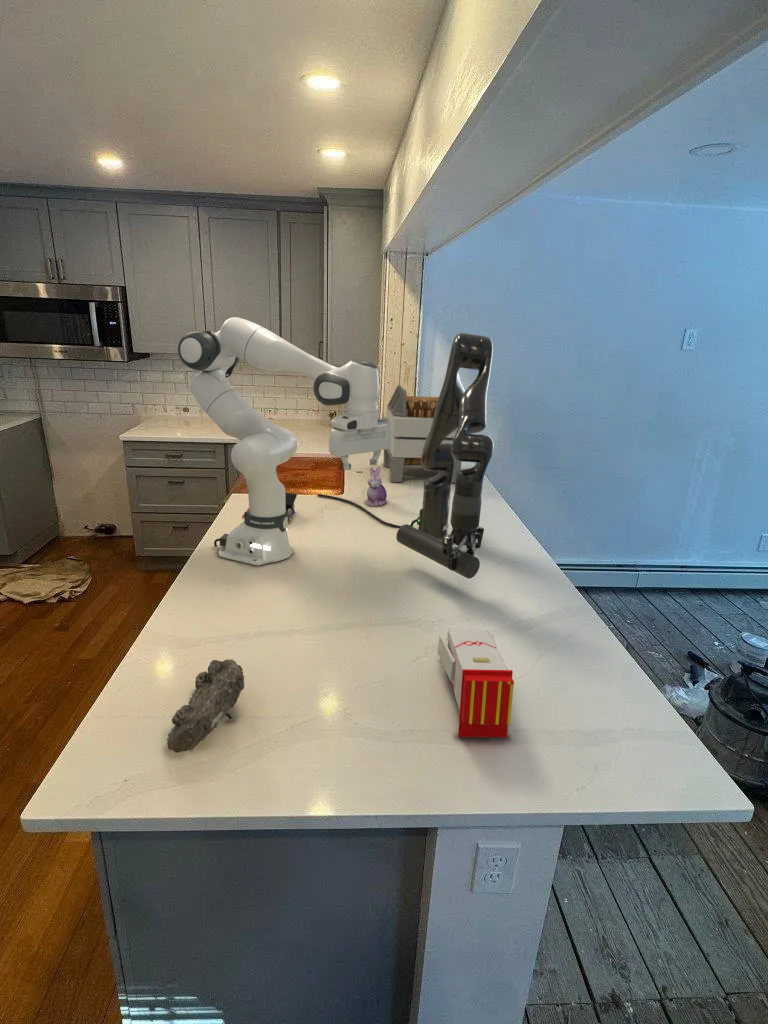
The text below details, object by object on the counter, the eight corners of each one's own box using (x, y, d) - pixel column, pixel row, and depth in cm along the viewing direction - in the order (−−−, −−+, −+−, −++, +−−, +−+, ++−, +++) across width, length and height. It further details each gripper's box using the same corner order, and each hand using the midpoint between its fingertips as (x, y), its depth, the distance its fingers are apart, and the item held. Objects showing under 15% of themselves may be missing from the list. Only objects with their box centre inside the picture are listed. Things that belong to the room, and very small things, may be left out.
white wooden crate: (382, 463, 289) (386, 382, 275) (445, 464, 293) (451, 384, 279) (390, 482, 257) (394, 392, 243) (460, 483, 261) (468, 394, 247)
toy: (488, 613, 130) (523, 677, 101) (484, 667, 133) (517, 744, 104) (435, 612, 130) (455, 676, 101) (432, 666, 133) (451, 743, 103)
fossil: (192, 660, 117) (244, 628, 112) (224, 691, 120) (276, 661, 115) (142, 746, 98) (202, 712, 93) (182, 779, 101) (242, 748, 96)
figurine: (371, 508, 224) (372, 471, 219) (360, 500, 232) (361, 464, 227) (392, 505, 228) (394, 469, 223) (380, 497, 236) (382, 462, 231)
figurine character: (292, 528, 204) (297, 509, 217) (292, 509, 201) (297, 491, 214) (274, 527, 204) (280, 509, 217) (273, 508, 200) (279, 491, 214)
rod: (478, 575, 154) (481, 554, 152) (463, 581, 151) (465, 560, 148) (410, 540, 174) (412, 522, 172) (395, 545, 170) (396, 526, 168)
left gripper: (383, 415, 168) (381, 460, 173) (325, 420, 155) (325, 469, 160) (397, 418, 163) (394, 465, 168) (339, 425, 151) (338, 474, 156)
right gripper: (474, 500, 156) (468, 555, 162) (436, 510, 147) (431, 568, 153) (495, 508, 151) (488, 565, 157) (457, 519, 142) (451, 578, 148)
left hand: (360, 467), depth 164 cm, fingers open, 8 cm apart
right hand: (460, 566), depth 155 cm, fingers closed on rod, 6 cm apart
